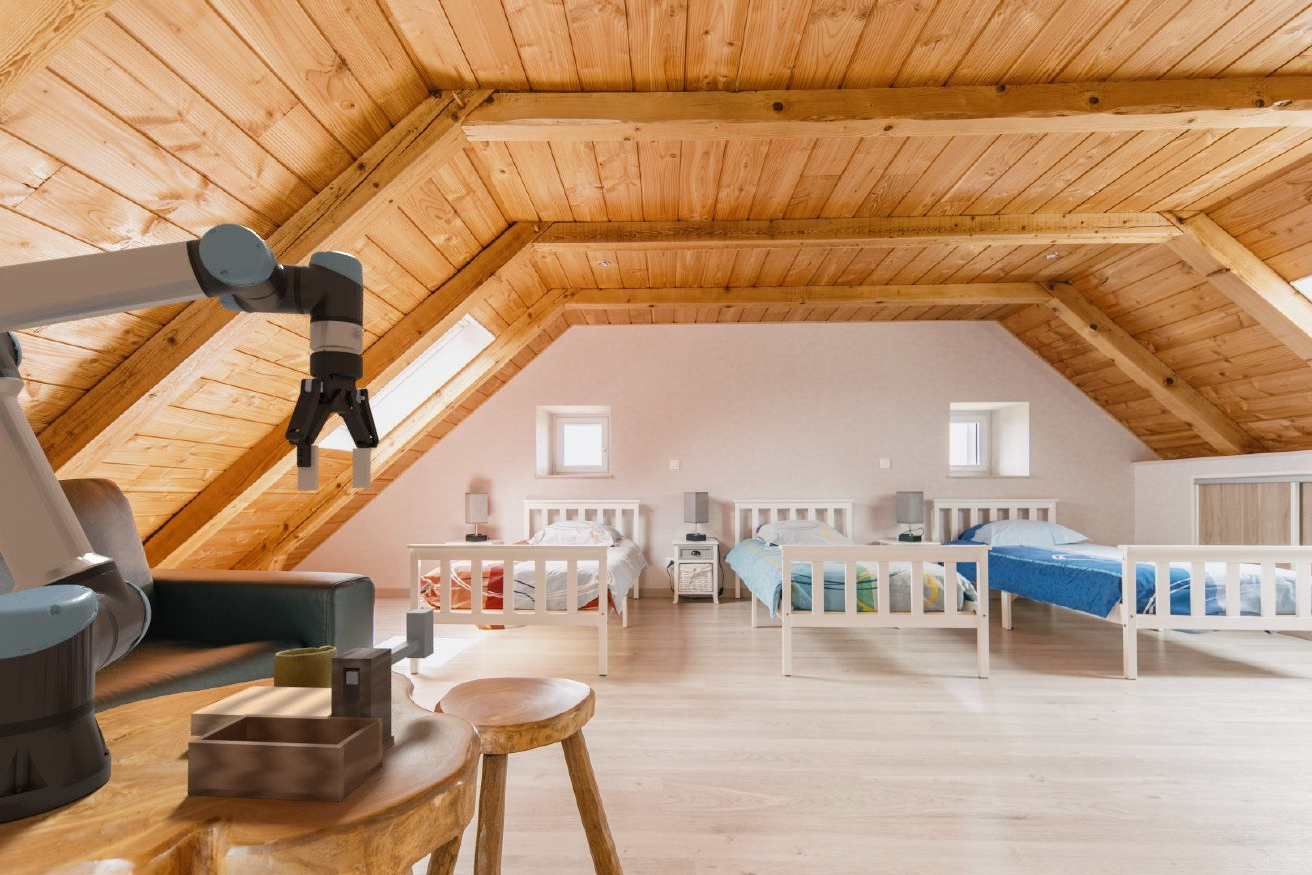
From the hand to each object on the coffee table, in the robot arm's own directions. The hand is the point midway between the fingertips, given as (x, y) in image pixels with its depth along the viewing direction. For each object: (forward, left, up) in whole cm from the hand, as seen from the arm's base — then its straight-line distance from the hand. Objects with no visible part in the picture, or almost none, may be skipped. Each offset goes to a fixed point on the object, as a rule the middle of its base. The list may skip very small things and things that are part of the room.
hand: (336, 489), depth 103 cm
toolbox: (+7, -16, -35) cm, 39 cm away
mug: (-10, +9, -35) cm, 38 cm away
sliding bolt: (+11, -3, -27) cm, 29 cm away
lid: (-4, -6, -33) cm, 34 cm away
